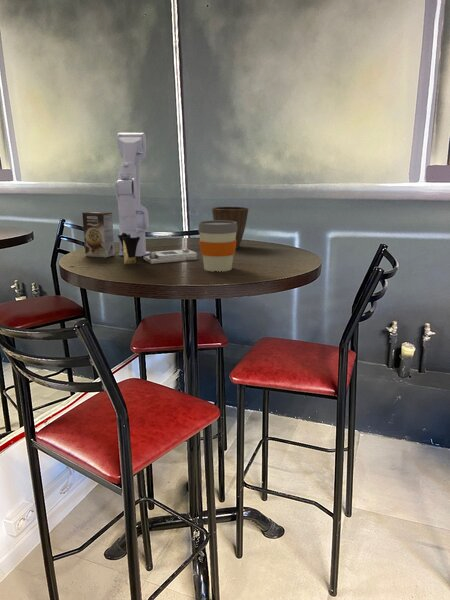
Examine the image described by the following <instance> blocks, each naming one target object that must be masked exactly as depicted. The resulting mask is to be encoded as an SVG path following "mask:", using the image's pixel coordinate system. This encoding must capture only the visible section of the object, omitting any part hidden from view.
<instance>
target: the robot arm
mask: <svg viewBox="0 0 450 600" xmlns="http://www.w3.org/2000/svg"><path fill="white" fill-rule="evenodd" d="M116 143H117V148H118V151H119V155H120V158H121V159H122V163H121V164H120V165H119V166H118V167H119V168H118V176H117V177H118V178H117V181H115V182H114V192H115V196H116V197H115V198H116V202H117V209H118V211H117V212H118V223H119V225H118V226H119V229H118V232H119V234H117V238H118V245H119V247H118V248H119V253H118V256H124V251H123V240H124V242H125V245H126V249H127V254H128V257H129V258H132V257H135V254H136V257H142V256H143V257H144V256H147V255H149V252H150V251H147V246H146V231H147V230H148V229H149V224H150V222H149V219H150V218H149V211H148V208H146V207H145V206H143V205H142V204H141V164H142V160H144V159H145V158H146V155H147V135H146V134H145V132H118V133H117V135H116Z"/></svg>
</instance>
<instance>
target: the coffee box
mask: <svg viewBox="0 0 450 600" xmlns="http://www.w3.org/2000/svg"><path fill="white" fill-rule="evenodd" d="M81 214H82V227H83V238H84V239H83V241H84V252H85V257H92V258H93V257H94V258H95V257H96V258H105V259H106V258H108V257H111V256H115V242H114V240H115V239H114V221H113V212H109V211H108V212H107V211H83V212H82V213H81Z"/></svg>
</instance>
